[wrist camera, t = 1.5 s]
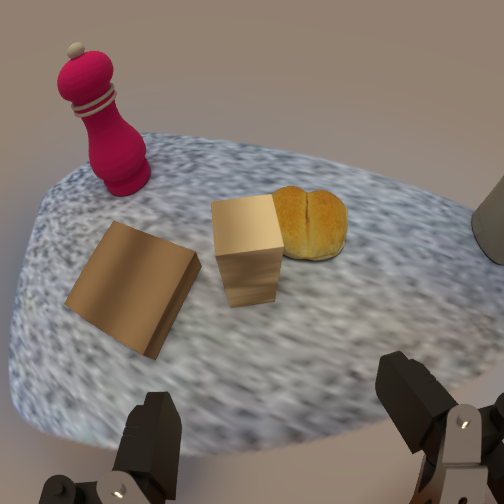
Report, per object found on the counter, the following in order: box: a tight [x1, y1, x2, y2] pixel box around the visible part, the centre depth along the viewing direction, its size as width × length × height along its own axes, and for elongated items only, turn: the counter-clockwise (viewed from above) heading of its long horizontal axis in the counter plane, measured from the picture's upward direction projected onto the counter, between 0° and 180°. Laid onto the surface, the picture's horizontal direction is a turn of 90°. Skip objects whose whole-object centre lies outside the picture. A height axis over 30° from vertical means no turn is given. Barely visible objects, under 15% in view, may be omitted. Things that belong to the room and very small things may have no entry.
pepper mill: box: [57, 42, 151, 196], centre depth 24 cm, size 7×7×20 cm
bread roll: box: [272, 186, 348, 261], centre depth 27 cm, size 8×9×4 cm
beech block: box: [211, 194, 284, 308], centre depth 21 cm, size 4×4×10 cm
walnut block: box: [64, 221, 202, 360], centre depth 24 cm, size 10×10×3 cm
